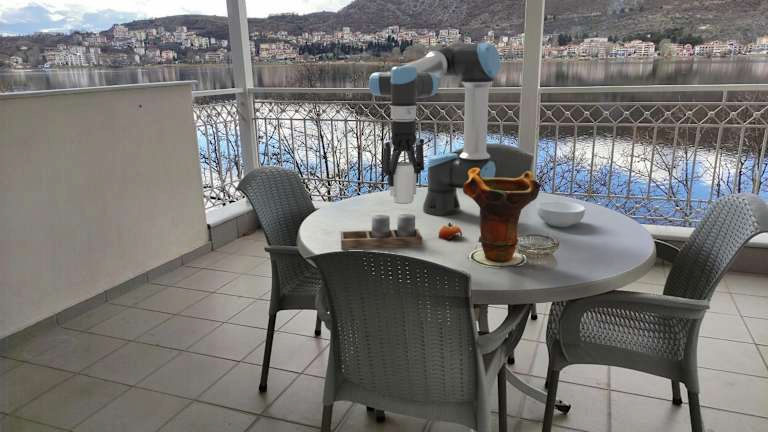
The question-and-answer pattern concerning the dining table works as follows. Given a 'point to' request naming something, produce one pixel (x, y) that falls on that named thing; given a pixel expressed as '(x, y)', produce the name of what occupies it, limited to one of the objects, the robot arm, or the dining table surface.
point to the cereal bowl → (560, 213)
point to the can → (404, 183)
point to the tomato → (449, 231)
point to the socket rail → (377, 242)
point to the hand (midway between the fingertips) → (403, 194)
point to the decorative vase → (500, 215)
